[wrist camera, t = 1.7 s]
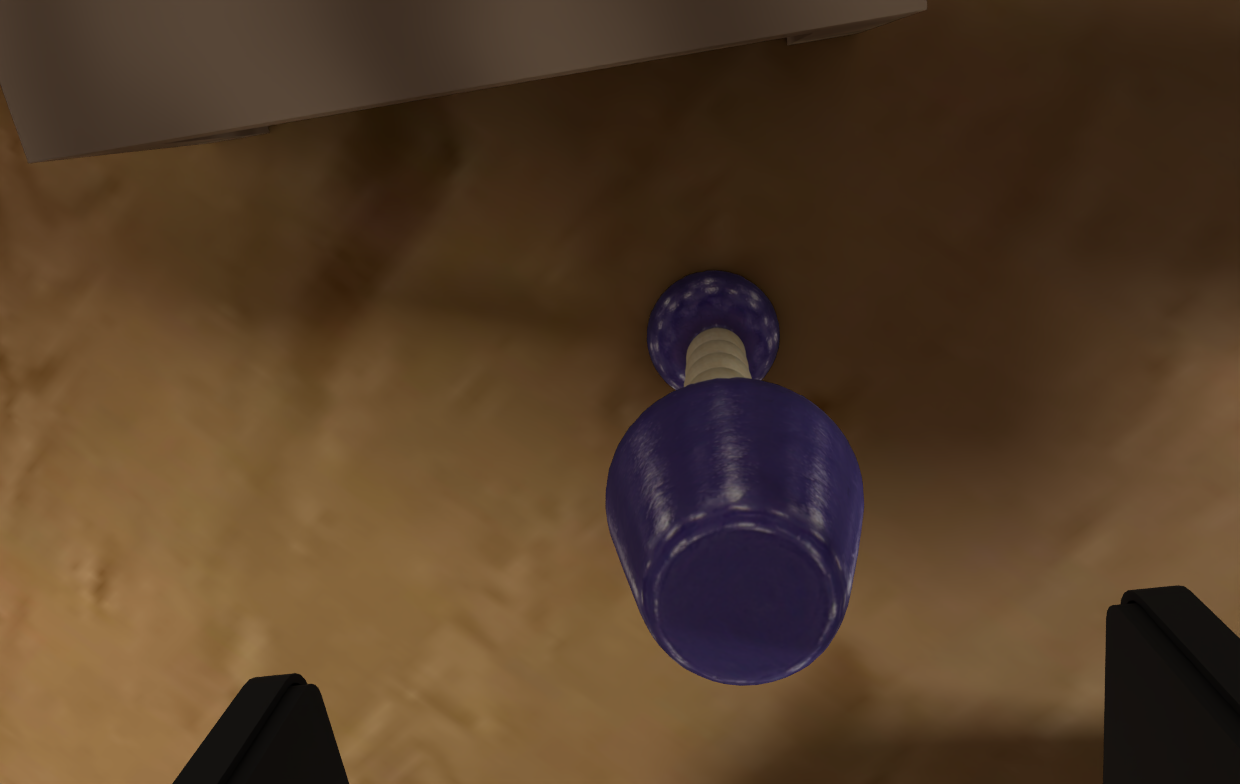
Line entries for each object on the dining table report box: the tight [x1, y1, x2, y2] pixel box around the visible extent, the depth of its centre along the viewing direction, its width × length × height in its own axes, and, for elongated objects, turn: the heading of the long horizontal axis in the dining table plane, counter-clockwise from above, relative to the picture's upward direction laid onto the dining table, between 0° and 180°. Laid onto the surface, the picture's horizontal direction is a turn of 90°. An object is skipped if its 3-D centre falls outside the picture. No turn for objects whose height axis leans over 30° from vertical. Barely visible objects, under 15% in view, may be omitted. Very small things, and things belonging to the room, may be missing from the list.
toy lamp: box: [606, 271, 864, 686], centre depth 20 cm, size 5×5×17 cm
